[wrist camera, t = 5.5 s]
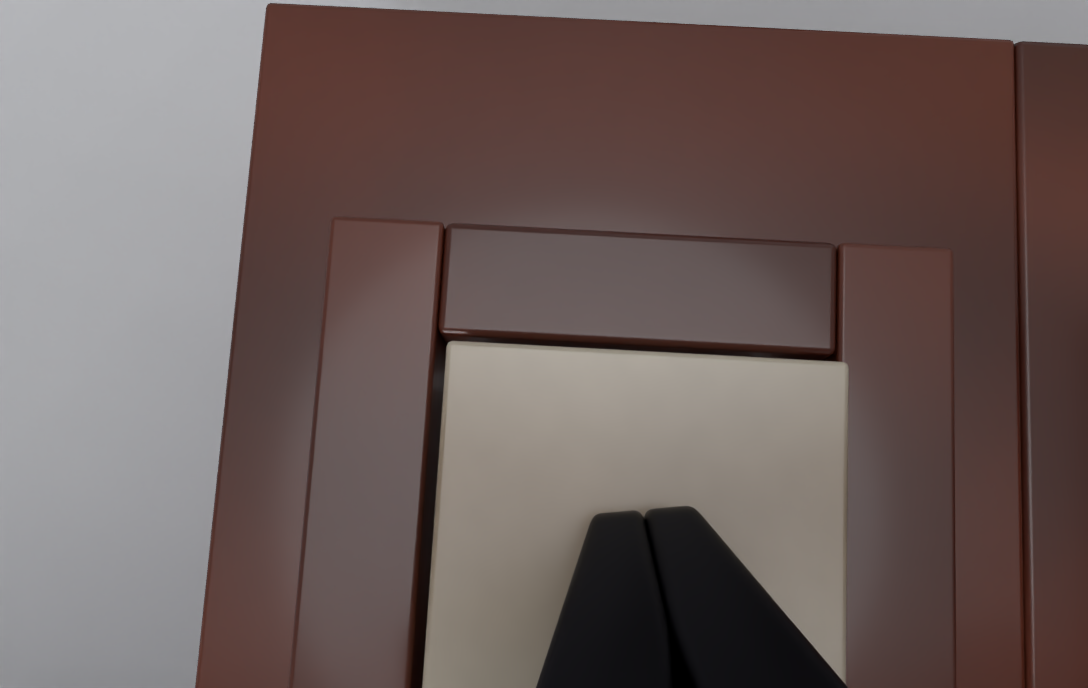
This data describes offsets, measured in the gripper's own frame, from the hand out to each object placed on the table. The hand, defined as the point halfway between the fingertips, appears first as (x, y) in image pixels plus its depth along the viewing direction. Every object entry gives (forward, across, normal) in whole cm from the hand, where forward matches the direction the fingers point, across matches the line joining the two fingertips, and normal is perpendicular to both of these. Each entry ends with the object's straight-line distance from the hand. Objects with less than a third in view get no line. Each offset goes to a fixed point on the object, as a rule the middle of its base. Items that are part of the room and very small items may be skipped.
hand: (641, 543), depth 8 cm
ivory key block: (+7, 0, +5) cm, 9 cm away
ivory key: (+1, 0, +2) cm, 2 cm away
